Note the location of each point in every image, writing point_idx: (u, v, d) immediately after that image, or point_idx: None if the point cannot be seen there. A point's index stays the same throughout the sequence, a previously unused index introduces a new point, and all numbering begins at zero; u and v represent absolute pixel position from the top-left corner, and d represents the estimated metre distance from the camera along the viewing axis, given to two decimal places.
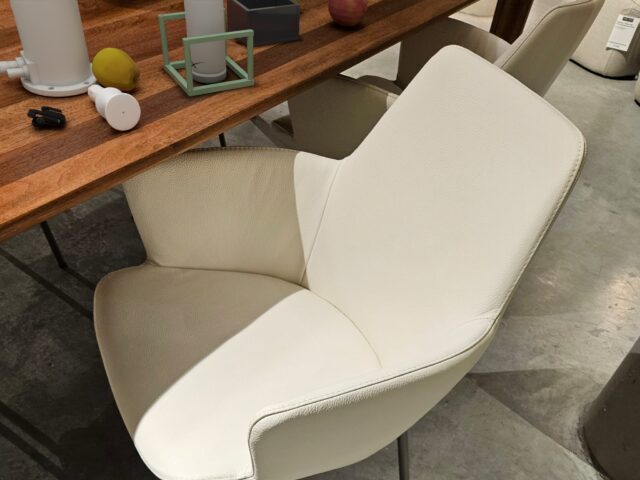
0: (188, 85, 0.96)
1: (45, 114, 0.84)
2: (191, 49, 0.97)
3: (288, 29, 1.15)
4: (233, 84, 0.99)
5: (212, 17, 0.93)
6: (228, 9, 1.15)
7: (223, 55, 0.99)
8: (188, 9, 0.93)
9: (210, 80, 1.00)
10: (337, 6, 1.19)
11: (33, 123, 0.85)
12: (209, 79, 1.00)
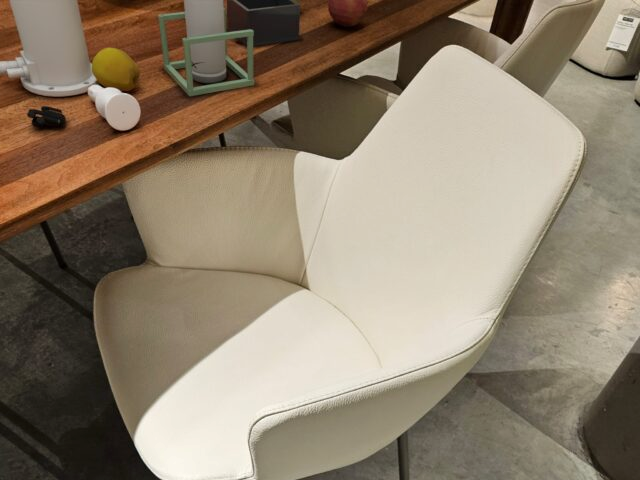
0: (188, 85, 0.96)
1: (45, 114, 0.84)
2: (191, 49, 0.97)
3: (288, 29, 1.15)
4: (233, 84, 0.99)
5: (212, 17, 0.93)
6: (228, 9, 1.15)
7: (223, 55, 0.99)
8: (188, 9, 0.93)
9: (210, 80, 1.00)
10: (337, 6, 1.19)
11: (33, 123, 0.85)
12: (209, 79, 1.00)
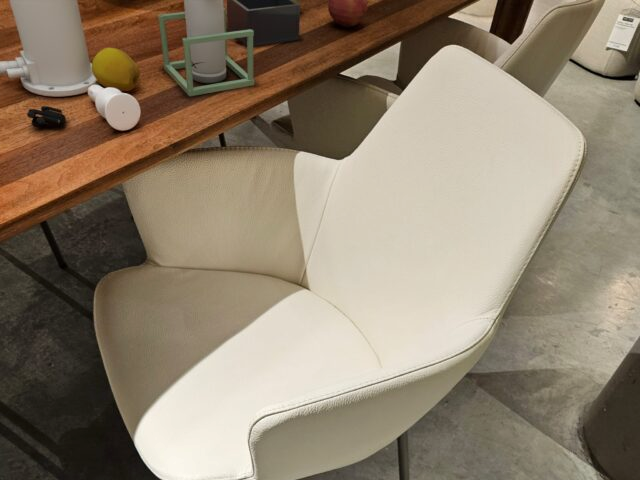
0: (188, 85, 0.96)
1: (45, 114, 0.84)
2: (191, 49, 0.97)
3: (288, 29, 1.15)
4: (233, 84, 0.99)
5: (212, 17, 0.93)
6: (228, 9, 1.15)
7: (223, 55, 0.99)
8: (188, 9, 0.93)
9: (210, 80, 1.00)
10: (337, 6, 1.19)
11: (33, 123, 0.85)
12: (209, 79, 1.00)
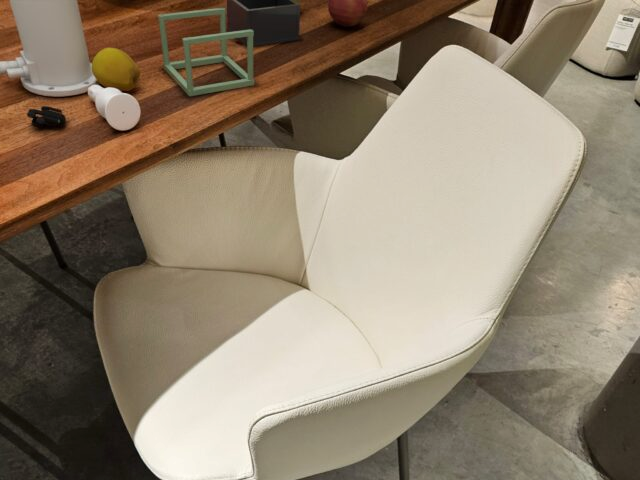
0: (188, 85, 0.96)
1: (45, 114, 0.84)
2: None
3: (288, 29, 1.15)
4: (233, 84, 0.99)
5: None
6: (228, 9, 1.15)
7: None
8: None
9: None
10: (337, 6, 1.19)
11: (33, 123, 0.85)
12: None
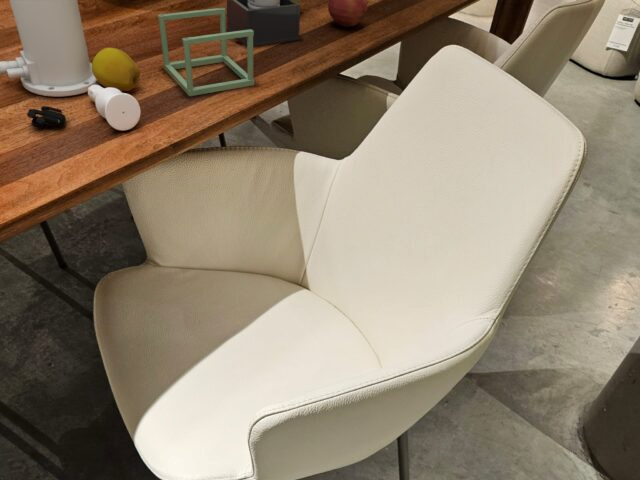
0: (188, 85, 0.96)
1: (45, 114, 0.84)
2: None
3: (288, 29, 1.15)
4: (233, 84, 0.99)
5: None
6: (228, 9, 1.15)
7: None
8: None
9: None
10: (337, 6, 1.19)
11: (33, 123, 0.85)
12: None
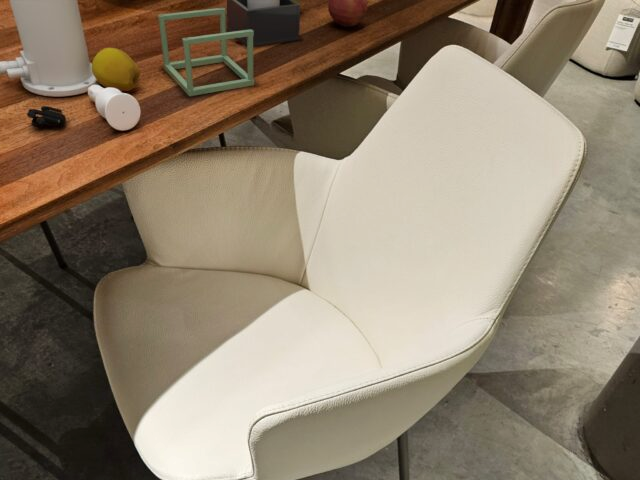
0: (188, 85, 0.96)
1: (45, 114, 0.84)
2: (250, 7, 1.12)
3: (288, 29, 1.15)
4: (233, 84, 0.99)
5: None
6: (228, 9, 1.15)
7: None
8: None
9: None
10: (337, 6, 1.19)
11: (33, 123, 0.85)
12: None
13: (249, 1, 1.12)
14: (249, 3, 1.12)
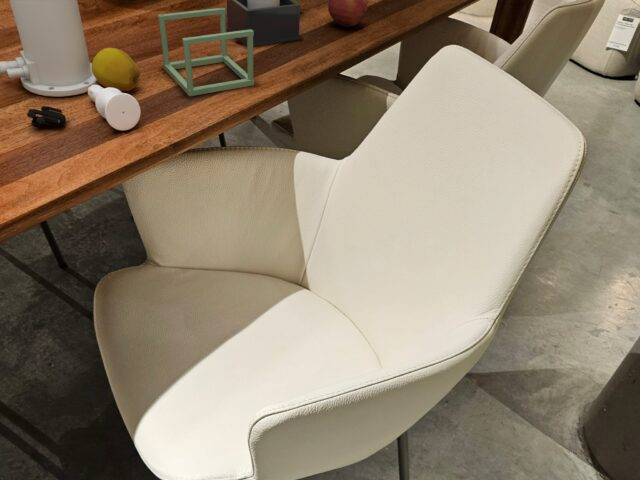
0: (188, 85, 0.96)
1: (45, 114, 0.84)
2: (250, 7, 1.12)
3: (288, 29, 1.15)
4: (233, 84, 0.99)
5: None
6: (228, 9, 1.15)
7: None
8: None
9: None
10: (337, 6, 1.19)
11: (33, 123, 0.85)
12: None
13: (249, 1, 1.12)
14: (249, 3, 1.12)
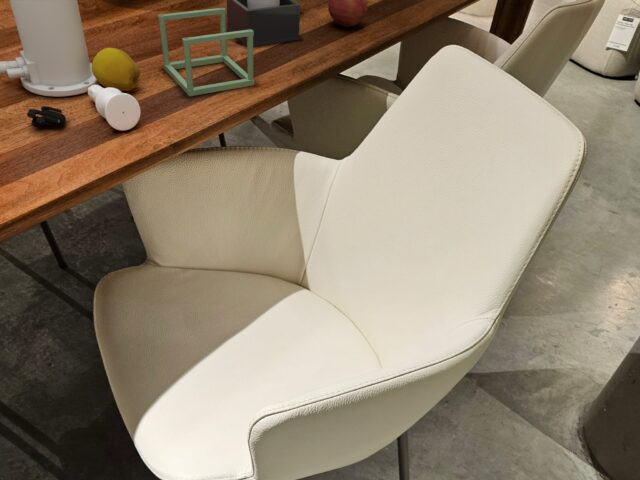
0: (188, 85, 0.96)
1: (45, 114, 0.84)
2: (250, 7, 1.12)
3: (288, 29, 1.15)
4: (233, 84, 0.99)
5: None
6: (228, 9, 1.15)
7: None
8: None
9: None
10: (337, 6, 1.19)
11: (33, 123, 0.85)
12: None
13: (249, 1, 1.12)
14: (249, 3, 1.12)
